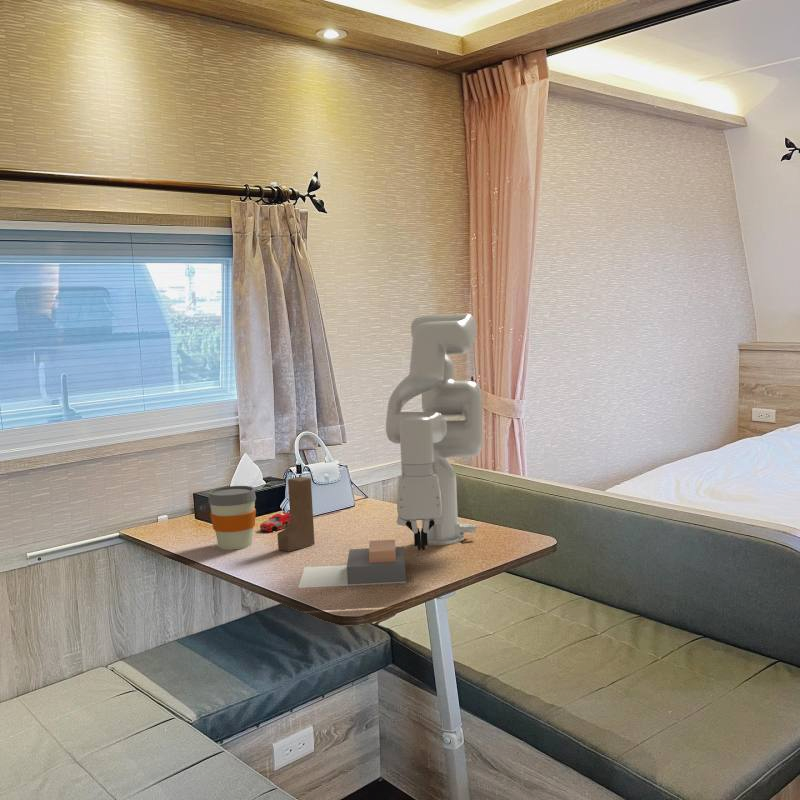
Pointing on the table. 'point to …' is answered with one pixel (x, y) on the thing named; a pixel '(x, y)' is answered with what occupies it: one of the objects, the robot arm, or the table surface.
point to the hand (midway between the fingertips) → (421, 548)
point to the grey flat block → (374, 568)
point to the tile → (382, 551)
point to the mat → (327, 577)
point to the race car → (276, 522)
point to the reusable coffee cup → (233, 515)
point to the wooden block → (298, 516)
